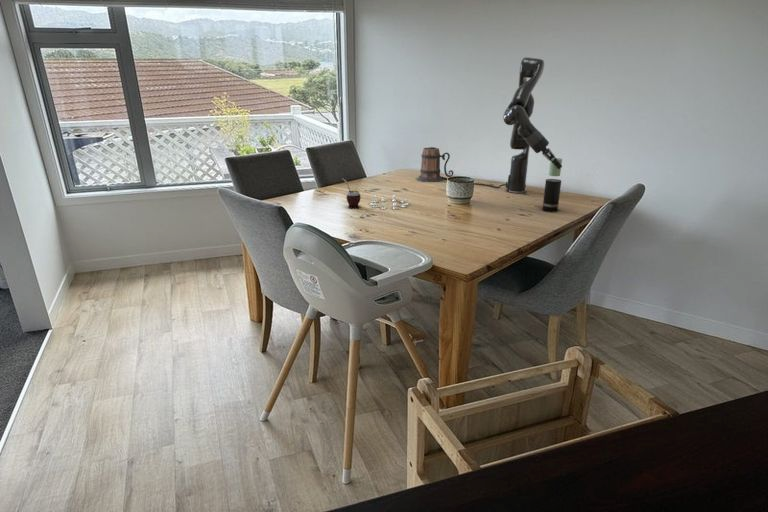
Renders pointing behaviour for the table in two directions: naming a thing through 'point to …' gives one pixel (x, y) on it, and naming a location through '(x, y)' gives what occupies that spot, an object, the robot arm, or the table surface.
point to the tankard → (432, 165)
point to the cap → (554, 168)
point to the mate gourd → (352, 197)
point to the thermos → (551, 195)
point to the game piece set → (392, 200)
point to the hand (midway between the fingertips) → (559, 166)
